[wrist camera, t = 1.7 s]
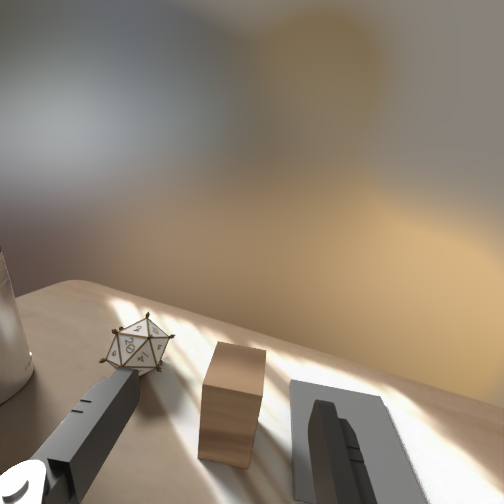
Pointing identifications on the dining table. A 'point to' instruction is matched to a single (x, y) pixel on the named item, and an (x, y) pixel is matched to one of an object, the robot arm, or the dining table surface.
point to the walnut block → (231, 404)
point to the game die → (138, 347)
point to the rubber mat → (369, 438)
